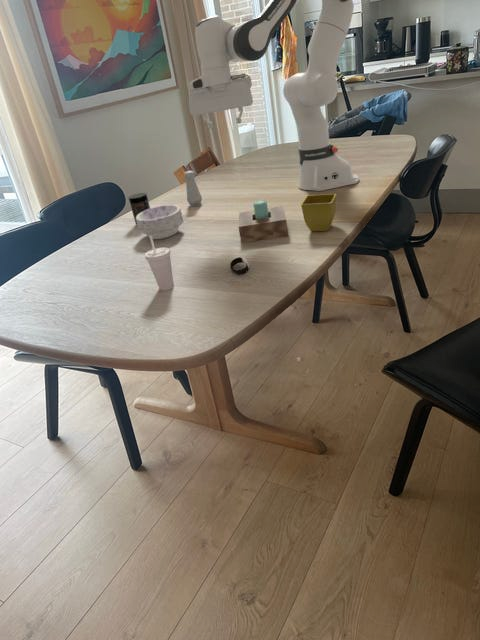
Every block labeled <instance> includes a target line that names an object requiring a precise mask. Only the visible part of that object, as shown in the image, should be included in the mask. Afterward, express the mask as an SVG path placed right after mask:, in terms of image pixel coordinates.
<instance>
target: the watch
mask: <svg viewBox="0 0 480 640" xmlns="http://www.w3.org/2000/svg"><path fill="white" fill-rule="evenodd" d="M241 263H242V264H243V265H244V267H243V268H241V269H235V268H234V267H235V266H236V265H237V264H241ZM229 266H230V270H231V272H232V273H234V274H235V275H238V276H243V275H245V274H247V273H248V272H249V269H250V265H249V263H248V261H247V259H246V258H245V257H244V256H241V257H239V256H238V257H236V258H233V259H232V260H231V261H230V264H229Z"/></svg>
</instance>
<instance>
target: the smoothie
mask: <svg viewBox="0 0 480 640" xmlns="http://www.w3.org/2000/svg"><path fill="white" fill-rule="evenodd" d="M149 237H150V238H149ZM149 237H148V238H149V240H150V242H151V243H150V244H151V248H152V249H150V250H148V251H146V253H144V257H145V261H147V262H148V265H149V267H150V270H151V272H152V274H153V276H154V278H155V281H156V284H157V286H158V289H159V290H160V291H169V290H171V289H174V287H175V284H174V277H173V270H172V262H171V261H172V260H171V254H172V253H171V249H170V248H168V247H155V243H154V239H152V236H149Z"/></svg>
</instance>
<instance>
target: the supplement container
mask: <svg viewBox="0 0 480 640" xmlns="http://www.w3.org/2000/svg"><path fill="white" fill-rule="evenodd" d="M127 198H128V202H129V204H130V210H131V212H132V215H133V219H134V223H135V225H136V226H138V225H137V222H136V216H137V215H138V214H139V213H141V212H143V211H145V210H147V209H150V208H151V206H150V202H149V200H148V194H147V193H146V192H138V193H133V194H132V195H129V196H128V197H127Z"/></svg>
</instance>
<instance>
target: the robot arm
mask: <svg viewBox="0 0 480 640" xmlns="http://www.w3.org/2000/svg"><path fill="white" fill-rule="evenodd" d="M300 1H301V0H269V2H267V4H266V5H265V6H264V8H263V9H262V11H261V12H260V13H259V14H258V16H257V17H255V18H254V19H250V20H248V21H246V22H243V23H240V24H237V25H236V24H233V23H231V22H228V21H226V20H224V19H222V18H221V17H220V16H219V15H216V14H215V15H212V16H209V17H206V18H204V19H201V20H200V21H198V22H197V24H196V25H195V28H194V32H195V33H194V35H195V44H196V45H195V46H196V50H197V55H198V58H199V61H200V71H201V72H200V73H201V75H200V76H197V77H196V78H195V79H193V80H191V81H190V82H189V84H188V86H189V89H190V90H191V91H190V92H189V94H188V105H189V113H190V114H191V115H192V116H193V117H195V116H200V115H201V117H202V119H203V120H204V122H205V123H206V124H207V129H209V130H210V129H213V128H214V126H213V121H209V119H208V114H212V113H216V112H217V113H218V112H223V111H229V110H234V109H237V110H238V112H239V114H238V116H237V117H235V120H236V124H242V115H243V113H244V107H250V106H252V104H253V103H254V100H253V95H252V91H251V88H252V84H253V83H252V78H251V76H250V75H248V74H246V73H241V74H234V75H232V73H231V68H230V63H237V62H238V63H239V62H241V63H242V62H255V61H259V60H260V59H261V58H263V57H264V56H265V54H266V53H267V50H268V48H269V45H270V42H271V40H272V38H273V35H274V34H275V33H276V31H277V30H278V28H279V27H280V25H281V24H283V22H284V21H285V19H286V18H287V17H288V15H289V14H290V13H291V11H292V10H293V8H294V7H295V6H297V4H298V3H299V2H300ZM354 4H355V3H354V2H353V0H321V11H320V13H319V16H318V18H317V21H316V23H315V25H314V29H313V32H312V35H311V36H310V39H309V40H310V41H309V43H308V46H307V54H308V65H307V69H306V71H305V72H298V73H295V74H293V75H292V76H290V77H289V78H287V79H286V81H285V83H284V84H283V90H282V92H283V96H284V99H285V100H286V102H287V103H288V105H289V106H290V110H291V112H292V115H293V118H294V122H295V126H296V130H297V140H298V152H297V153H298V163H299V166H300V176H299V184H298V188H299V189H301V190H305V191H315V192H316V191H317V192H321V191H322V192H323V191H326V190H327V191H328V190H331V189H335V188H340V187H341V188H342V187H345V186H349V185H354V184H358V183H359V182H360V181H359V180H360V178H359V175H357V174H356V173H353V170H352V166H351V165H350V164H351V163H349V162H348V161H347V160H346V159H344V158H343V157H341V156H339V155H337V154H336V153H338V151H339V148H338V147H337V146H335V145H333V144H331V143H330V137H329V136H330V135H329V134H330V133H329V123H328V120H327V119H326V117H325V116H324V115H323V112H322V110H321V107H324V106H327V105H329V104H331V103H332V102H334V101H335V99H336V98H337V95H338V92H339V83H338V80H337V78H336V74H337V66H338V60H339V57H340V55H341V53H342V49H343V46H344V43H345V40H346V38H347V35H348V32H349V29H350V26H351V23H352V22H351V21H352V18H353V14H354V8H355V7H354Z"/></svg>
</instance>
